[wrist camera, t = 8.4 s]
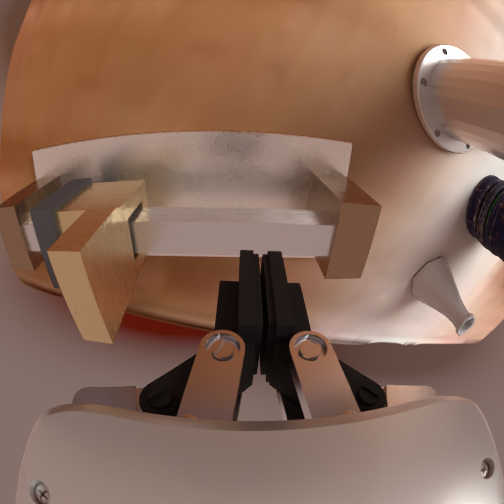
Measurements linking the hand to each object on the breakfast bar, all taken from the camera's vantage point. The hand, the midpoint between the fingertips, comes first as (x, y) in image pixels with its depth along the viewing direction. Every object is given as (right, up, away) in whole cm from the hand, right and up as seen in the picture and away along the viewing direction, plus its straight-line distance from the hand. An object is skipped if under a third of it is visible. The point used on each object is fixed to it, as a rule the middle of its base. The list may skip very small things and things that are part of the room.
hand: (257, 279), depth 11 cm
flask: (+25, -2, +21) cm, 33 cm away
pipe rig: (-7, +6, +13) cm, 16 cm away
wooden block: (-11, +4, +9) cm, 15 cm away
